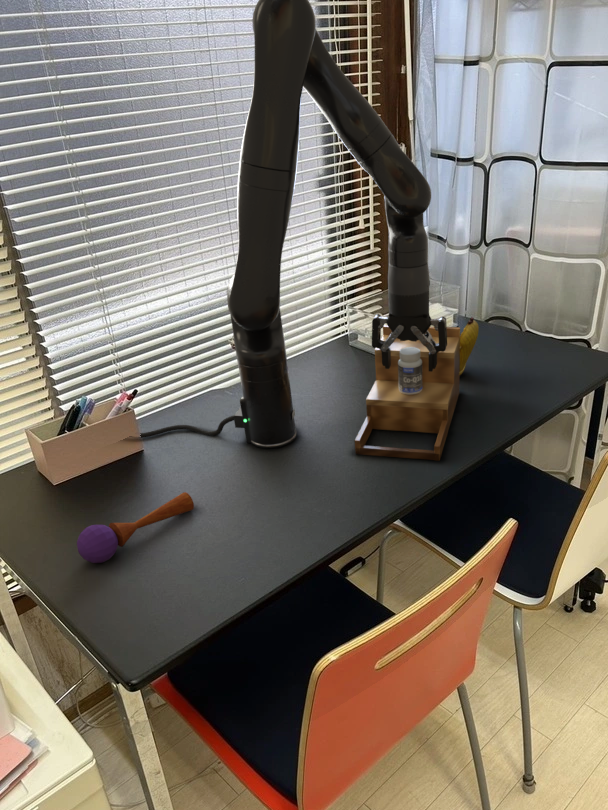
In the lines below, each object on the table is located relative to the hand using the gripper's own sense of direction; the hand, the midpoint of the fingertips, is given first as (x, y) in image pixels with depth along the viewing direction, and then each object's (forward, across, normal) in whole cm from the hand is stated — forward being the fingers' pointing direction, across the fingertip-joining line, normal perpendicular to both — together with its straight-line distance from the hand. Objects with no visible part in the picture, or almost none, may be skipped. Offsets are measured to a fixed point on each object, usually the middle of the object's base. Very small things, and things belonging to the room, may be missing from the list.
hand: (409, 368), depth 138 cm
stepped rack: (+11, 0, -1) cm, 11 cm away
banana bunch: (+11, +6, +22) cm, 26 cm away
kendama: (+12, -36, -46) cm, 59 cm away
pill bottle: (+5, 0, 0) cm, 5 cm away
